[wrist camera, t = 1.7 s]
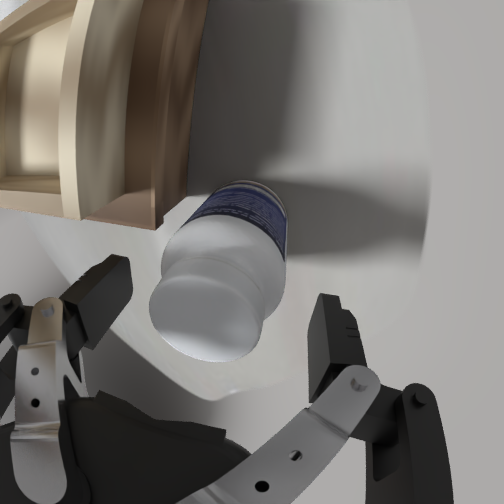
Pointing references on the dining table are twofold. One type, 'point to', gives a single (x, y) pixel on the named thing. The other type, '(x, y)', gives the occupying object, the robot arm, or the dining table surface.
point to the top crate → (65, 104)
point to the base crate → (158, 113)
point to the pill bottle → (223, 274)
